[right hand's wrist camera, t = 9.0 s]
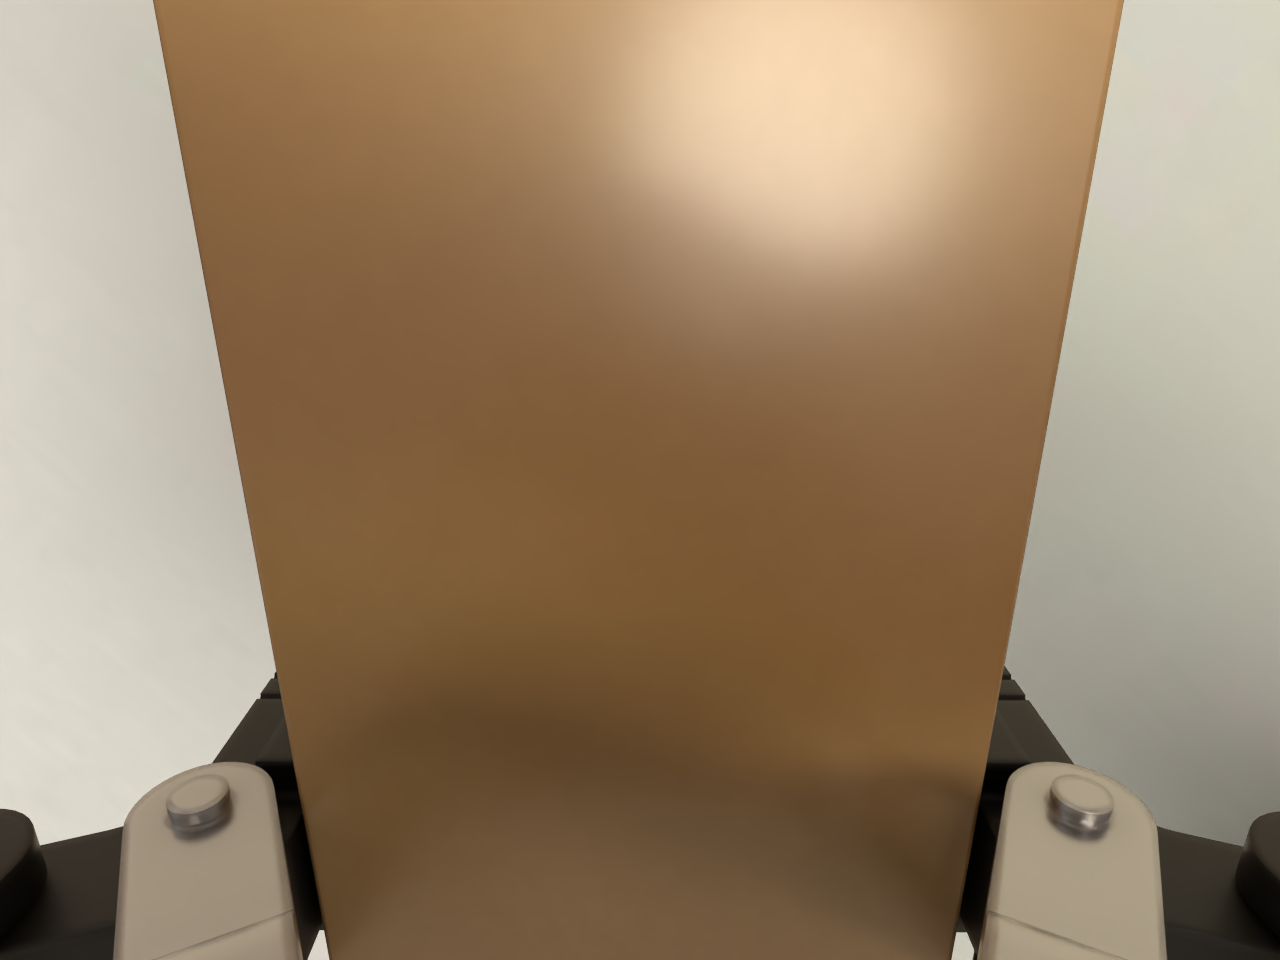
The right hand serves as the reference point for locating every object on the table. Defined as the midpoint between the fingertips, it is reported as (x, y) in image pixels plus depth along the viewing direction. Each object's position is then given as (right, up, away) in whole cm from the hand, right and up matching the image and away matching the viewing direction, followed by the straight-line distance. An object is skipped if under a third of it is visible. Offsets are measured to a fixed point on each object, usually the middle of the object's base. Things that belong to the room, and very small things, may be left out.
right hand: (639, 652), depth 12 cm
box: (0, +12, +3) cm, 13 cm away
